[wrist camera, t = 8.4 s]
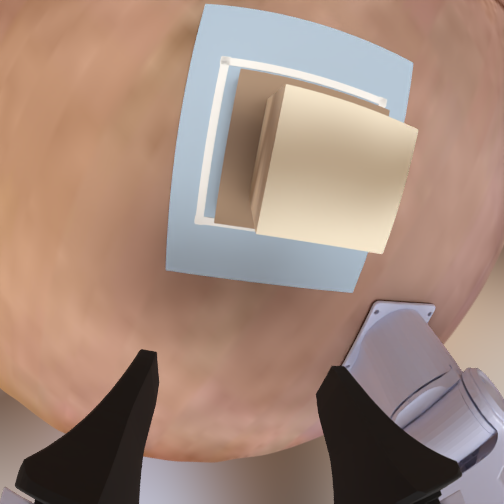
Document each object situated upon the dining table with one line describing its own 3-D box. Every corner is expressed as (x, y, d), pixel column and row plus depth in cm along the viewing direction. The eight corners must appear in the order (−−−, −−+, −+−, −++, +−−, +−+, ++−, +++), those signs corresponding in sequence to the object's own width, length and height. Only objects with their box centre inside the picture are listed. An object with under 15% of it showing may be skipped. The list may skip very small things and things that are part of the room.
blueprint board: (348, 286, 21) (353, 293, 20) (168, 263, 20) (165, 271, 19) (405, 64, 14) (414, 62, 13) (206, 9, 12) (205, 3, 11)
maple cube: (340, 213, 14) (382, 254, 10) (248, 196, 14) (255, 233, 9) (362, 124, 12) (418, 129, 8) (267, 99, 12) (286, 83, 7)
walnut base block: (337, 226, 18) (354, 245, 15) (217, 206, 17) (213, 223, 14) (366, 110, 15) (389, 110, 12) (239, 78, 14) (240, 68, 11)
